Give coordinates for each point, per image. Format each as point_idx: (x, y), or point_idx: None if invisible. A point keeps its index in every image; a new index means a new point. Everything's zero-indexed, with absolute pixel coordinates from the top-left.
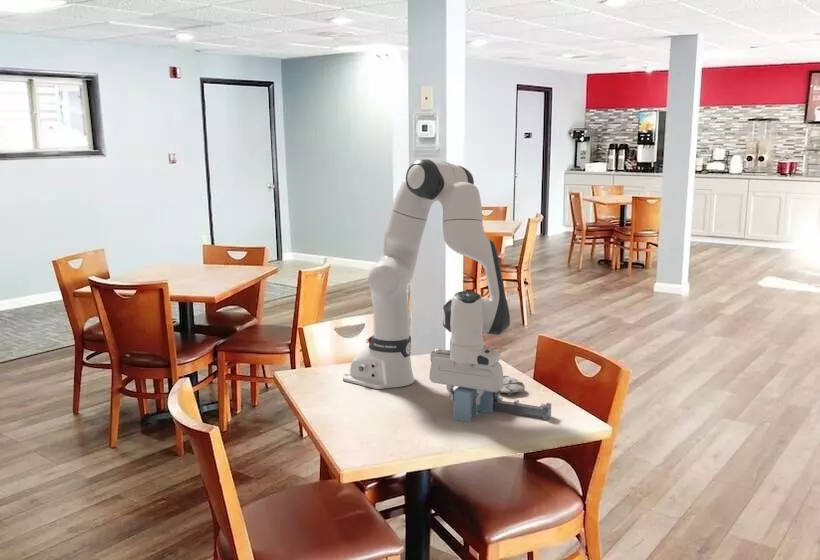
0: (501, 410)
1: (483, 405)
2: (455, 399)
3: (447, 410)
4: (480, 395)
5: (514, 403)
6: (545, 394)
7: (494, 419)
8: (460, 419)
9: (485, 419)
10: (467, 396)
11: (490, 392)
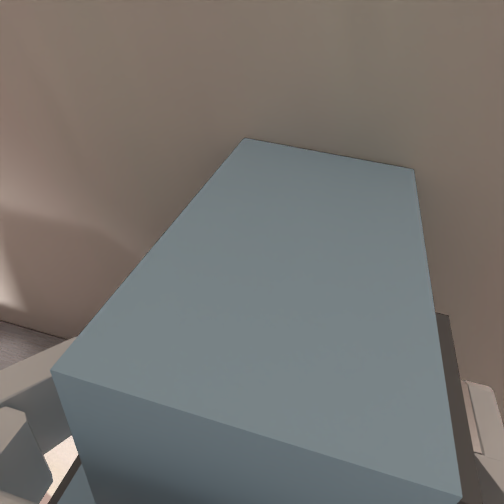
0: None
1: None
2: (408, 318)
3: (486, 356)
4: (3, 373)
5: None
6: None
7: (96, 242)
8: (336, 161)
9: (148, 231)
10: (149, 328)
11: (84, 478)
